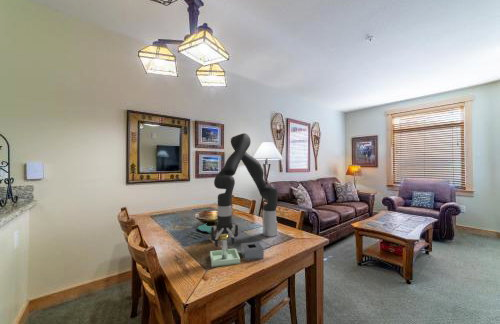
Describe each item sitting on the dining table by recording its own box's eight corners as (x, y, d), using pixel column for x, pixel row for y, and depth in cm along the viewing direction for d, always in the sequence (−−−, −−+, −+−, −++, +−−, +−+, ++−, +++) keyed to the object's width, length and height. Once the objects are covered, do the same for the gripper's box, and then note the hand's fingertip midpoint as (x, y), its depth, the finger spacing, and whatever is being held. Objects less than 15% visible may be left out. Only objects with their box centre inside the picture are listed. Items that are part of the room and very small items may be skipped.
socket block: (258, 250, 118) (258, 241, 118) (263, 258, 108) (263, 249, 108) (240, 252, 115) (240, 243, 115) (245, 260, 105) (245, 251, 105)
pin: (228, 255, 110) (228, 233, 109) (229, 259, 105) (229, 236, 105) (219, 256, 108) (219, 234, 108) (220, 260, 104) (220, 237, 104)
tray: (235, 252, 114) (235, 248, 114) (240, 263, 103) (240, 258, 103) (210, 255, 111) (210, 251, 111) (211, 267, 99) (211, 262, 99)
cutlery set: (230, 228, 156) (230, 225, 156) (198, 241, 132) (198, 237, 132) (212, 223, 168) (212, 220, 168) (180, 234, 144) (180, 231, 144)
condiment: (225, 240, 133) (225, 221, 133) (213, 242, 128) (213, 223, 128) (220, 236, 139) (220, 218, 139) (208, 239, 134) (208, 220, 134)
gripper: (236, 211, 112) (236, 241, 112) (210, 212, 108) (210, 244, 109) (239, 214, 105) (239, 246, 105) (211, 216, 101) (211, 250, 101)
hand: (224, 245), depth 107 cm, fingers open, 7 cm apart
